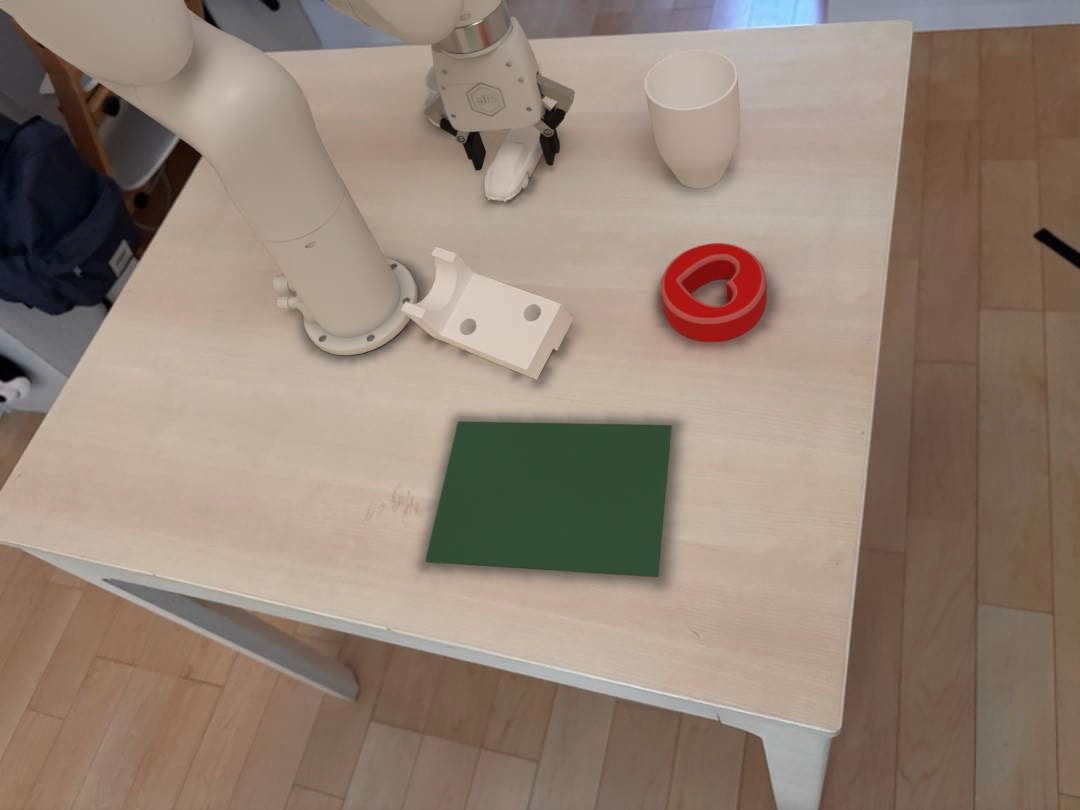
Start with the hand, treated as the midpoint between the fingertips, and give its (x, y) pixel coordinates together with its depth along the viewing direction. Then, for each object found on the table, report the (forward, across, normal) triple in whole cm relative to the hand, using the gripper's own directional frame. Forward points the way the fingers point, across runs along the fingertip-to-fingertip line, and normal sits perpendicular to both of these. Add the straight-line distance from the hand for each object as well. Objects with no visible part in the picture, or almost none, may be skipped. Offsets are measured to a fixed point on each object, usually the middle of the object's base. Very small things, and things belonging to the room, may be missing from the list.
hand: (516, 158), depth 98 cm
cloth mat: (+1, +10, -41) cm, 42 cm away
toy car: (+2, 0, 0) cm, 2 cm away
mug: (+2, +21, -1) cm, 21 cm away
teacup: (+2, -9, +12) cm, 15 cm away
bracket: (+2, +2, -24) cm, 24 cm away
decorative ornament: (+2, +23, -20) cm, 31 cm away
